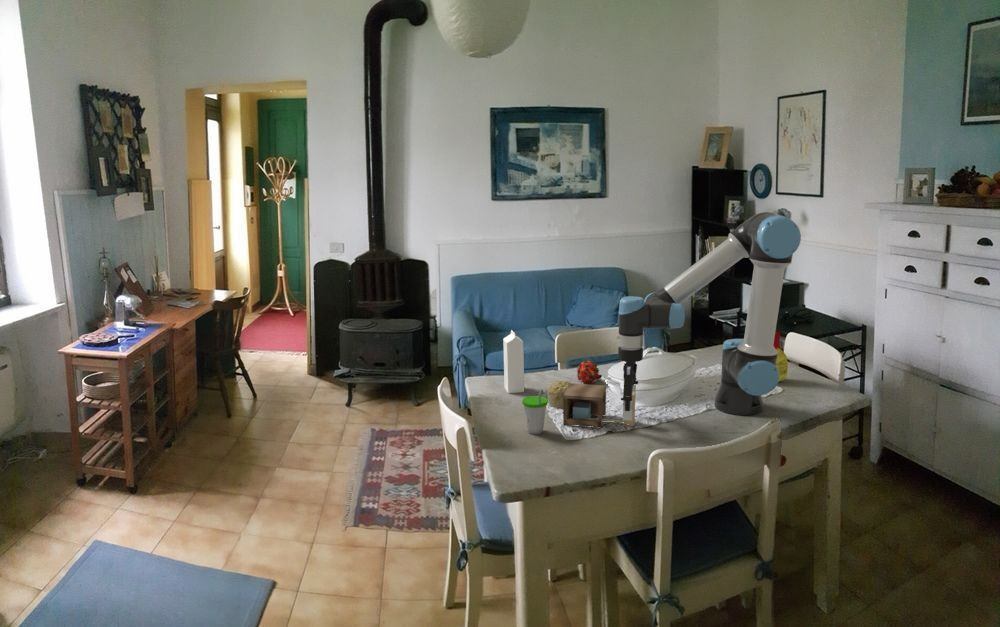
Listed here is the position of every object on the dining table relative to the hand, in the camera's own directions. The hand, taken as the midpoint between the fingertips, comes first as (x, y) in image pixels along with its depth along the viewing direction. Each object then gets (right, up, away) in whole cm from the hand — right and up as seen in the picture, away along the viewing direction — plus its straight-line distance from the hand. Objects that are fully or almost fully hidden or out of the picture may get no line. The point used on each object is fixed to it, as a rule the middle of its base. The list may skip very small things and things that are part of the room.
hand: (629, 411), depth 219 cm
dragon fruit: (-8, +5, +40) cm, 41 cm away
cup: (-30, -6, -4) cm, 31 cm away
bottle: (+58, +6, +36) cm, 69 cm away
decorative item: (-20, 0, +19) cm, 28 cm away
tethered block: (-8, -3, +3) cm, 9 cm away
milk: (-35, +3, +34) cm, 49 cm away
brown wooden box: (-13, -3, +4) cm, 15 cm away
